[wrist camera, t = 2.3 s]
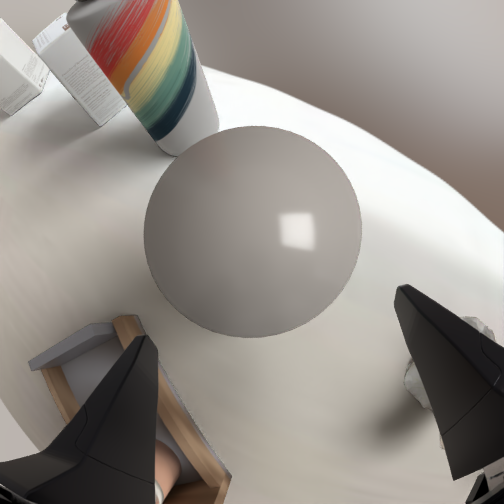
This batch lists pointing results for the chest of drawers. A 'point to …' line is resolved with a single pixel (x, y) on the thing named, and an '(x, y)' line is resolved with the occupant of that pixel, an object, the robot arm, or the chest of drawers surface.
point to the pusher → (74, 346)
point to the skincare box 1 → (18, 71)
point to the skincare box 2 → (78, 71)
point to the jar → (165, 470)
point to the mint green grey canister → (252, 231)
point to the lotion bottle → (150, 66)
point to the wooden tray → (168, 415)
